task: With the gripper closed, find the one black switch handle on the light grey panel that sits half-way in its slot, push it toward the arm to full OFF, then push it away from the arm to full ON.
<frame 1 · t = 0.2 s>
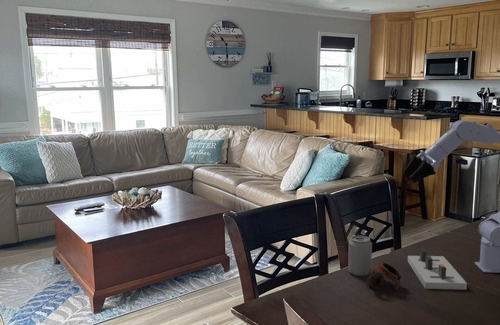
hand: (408, 177, 145), 31 cm above the table, tool tilted 45°, fingers open, 7 cm apart
pottery mug: (380, 288, 136), on the table
tripped handle: (442, 270, 137), point 4 cm above the table, slide at 2.0 cm
can: (359, 273, 147), on the table
breaker panel: (434, 274, 144), on the table
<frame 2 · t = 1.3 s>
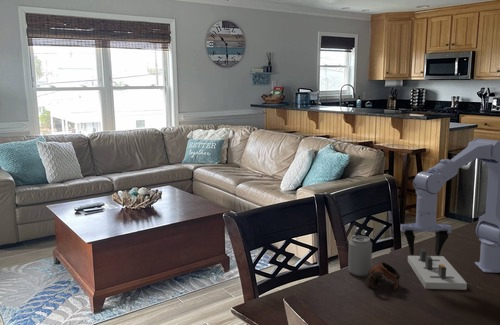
hand: (424, 254, 137), 9 cm above the table, tool pointing down, fingers open, 7 cm apart
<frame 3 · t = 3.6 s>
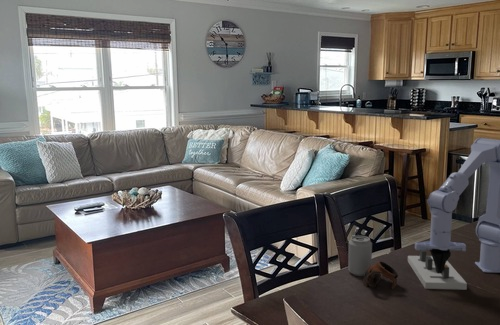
hand: (438, 272, 137), 4 cm above the table, tool pointing down, fingers closed
tripped handle: (445, 270, 137), point 4 cm above the table, slide at 1.1 cm, touching gripper
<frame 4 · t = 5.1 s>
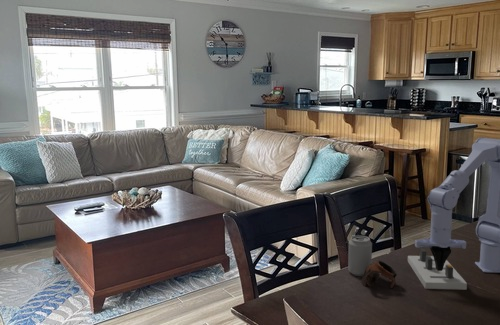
hand: (439, 269, 137), 5 cm above the table, tool pointing down, fingers closed
tripped handle: (449, 270, 137), point 4 cm above the table, slide at -0.1 cm
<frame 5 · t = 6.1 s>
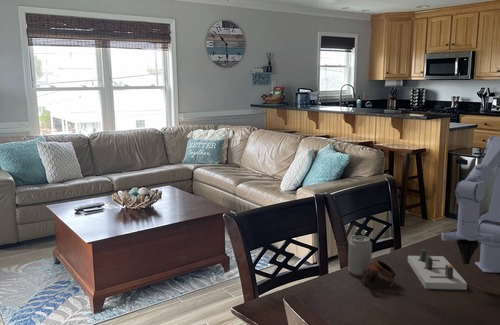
hand: (465, 263, 136), 7 cm above the table, tool pointing down, fingers closed
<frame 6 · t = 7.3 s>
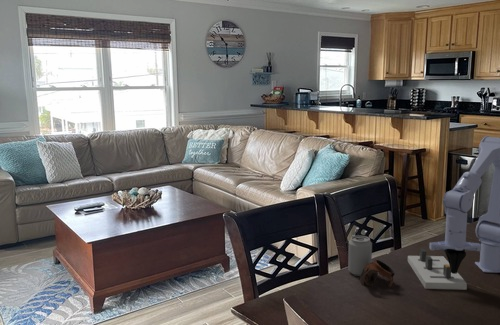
hand: (453, 272, 136), 4 cm above the table, tool pointing down, fingers closed
tripped handle: (447, 270, 137), point 4 cm above the table, slide at 0.5 cm, touching gripper
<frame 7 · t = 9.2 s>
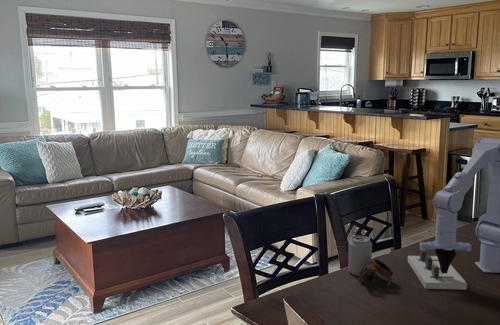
hand: (443, 272, 137), 4 cm above the table, tool pointing down, fingers closed
tripped handle: (435, 270, 137), point 4 cm above the table, slide at 4.1 cm
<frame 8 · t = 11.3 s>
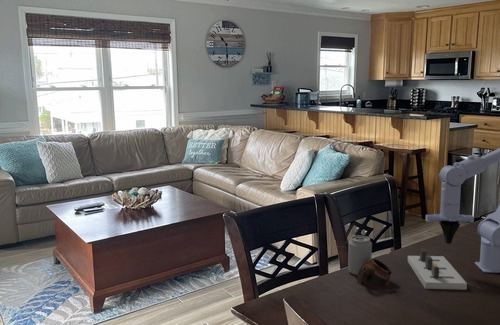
hand: (448, 242, 146), 9 cm above the table, tool pointing down, fingers closed
at the end: tripped handle slide at 4.1 cm; can moved 0.3 cm from its start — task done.
